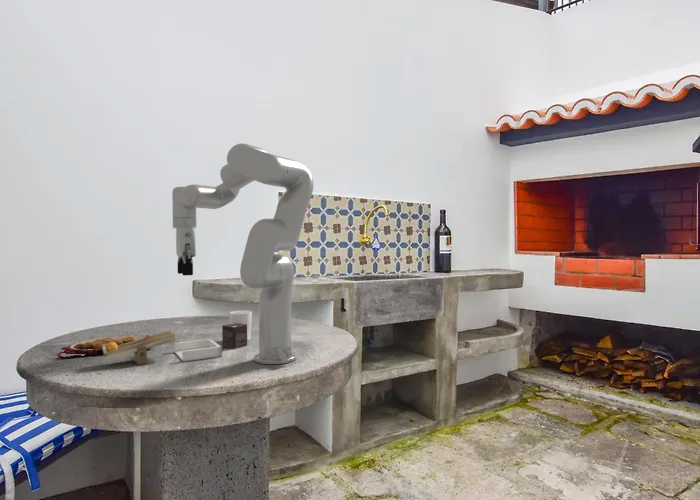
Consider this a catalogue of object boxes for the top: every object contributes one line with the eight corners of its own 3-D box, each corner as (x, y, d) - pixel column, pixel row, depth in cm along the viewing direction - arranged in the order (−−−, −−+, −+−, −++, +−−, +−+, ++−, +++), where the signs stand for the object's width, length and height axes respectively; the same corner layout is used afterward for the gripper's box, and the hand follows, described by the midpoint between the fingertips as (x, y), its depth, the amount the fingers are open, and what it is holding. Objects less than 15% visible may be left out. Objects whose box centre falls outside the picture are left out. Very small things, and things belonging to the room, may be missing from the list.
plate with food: (153, 352, 150) (153, 342, 150) (57, 360, 138) (57, 348, 138) (149, 339, 172) (149, 330, 172) (66, 345, 160) (66, 335, 160)
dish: (222, 356, 141) (221, 346, 141) (183, 361, 135) (183, 351, 135) (210, 347, 153) (210, 338, 153) (174, 352, 147) (174, 342, 147)
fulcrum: (146, 364, 133) (146, 346, 133) (137, 365, 132) (137, 347, 132) (143, 358, 140) (142, 341, 140) (134, 359, 139) (134, 342, 139)
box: (235, 343, 160) (234, 322, 160) (247, 345, 157) (247, 324, 157) (221, 347, 155) (221, 325, 154) (234, 349, 152) (234, 327, 151)
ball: (119, 351, 132) (116, 341, 131) (107, 355, 130) (105, 344, 130) (118, 349, 134) (116, 339, 134) (106, 352, 133) (104, 343, 132)
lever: (175, 340, 138) (172, 329, 138) (105, 361, 129) (102, 348, 128) (168, 333, 149) (165, 322, 149) (103, 351, 139) (100, 340, 139)
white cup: (249, 342, 162) (248, 313, 162) (227, 342, 162) (226, 313, 162) (254, 337, 170) (254, 310, 170) (233, 337, 170) (232, 310, 170)
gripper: (201, 223, 149) (201, 275, 150) (191, 224, 164) (191, 272, 165) (177, 222, 145) (177, 276, 146) (169, 224, 161) (169, 273, 161)
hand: (185, 274), depth 155 cm, fingers open, 9 cm apart
